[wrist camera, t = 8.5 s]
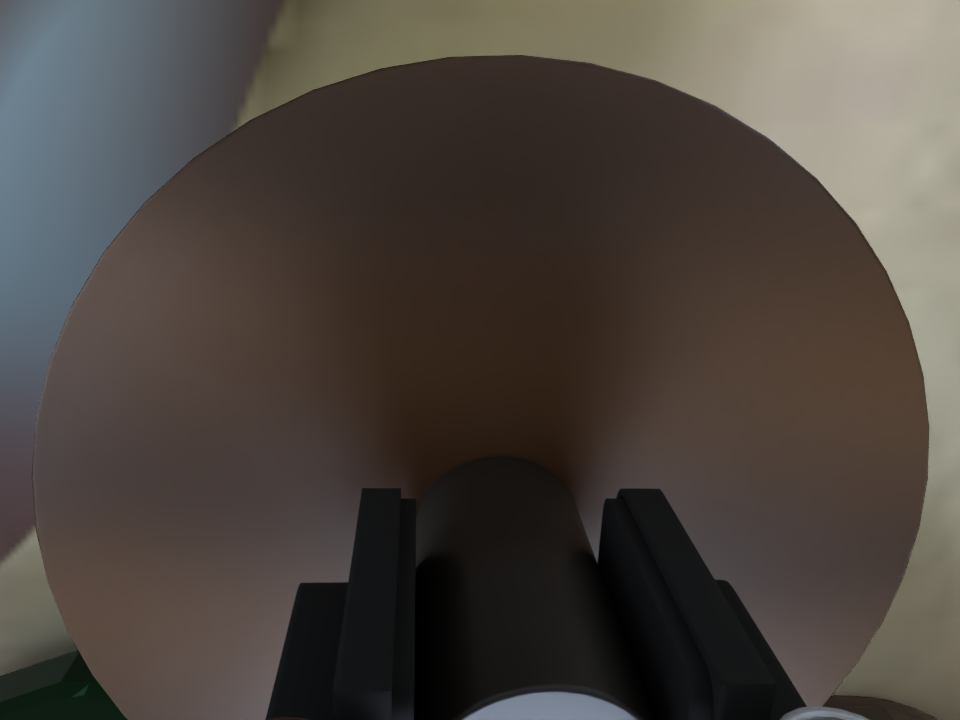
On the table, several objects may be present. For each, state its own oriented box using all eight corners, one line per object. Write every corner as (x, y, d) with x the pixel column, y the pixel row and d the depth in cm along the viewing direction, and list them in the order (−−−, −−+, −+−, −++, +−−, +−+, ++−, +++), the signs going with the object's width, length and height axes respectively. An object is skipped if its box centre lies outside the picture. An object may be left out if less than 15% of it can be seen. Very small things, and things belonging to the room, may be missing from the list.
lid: (2, 35, 11) (-478, -23, 5) (973, 78, 12) (1496, 70, 6) (112, 817, 15) (-75, 1265, 10) (813, 796, 17) (1029, 1186, 11)
